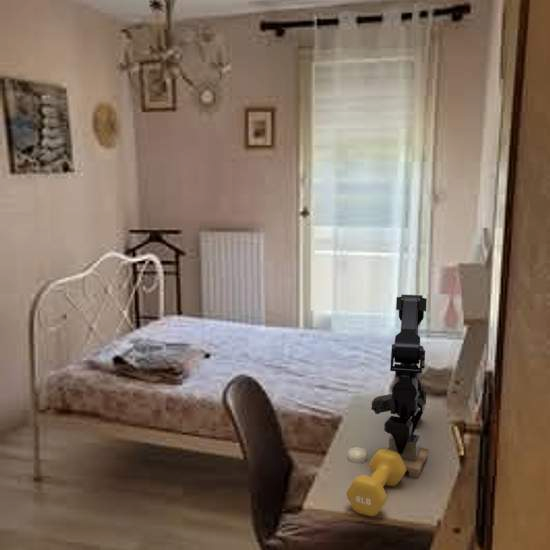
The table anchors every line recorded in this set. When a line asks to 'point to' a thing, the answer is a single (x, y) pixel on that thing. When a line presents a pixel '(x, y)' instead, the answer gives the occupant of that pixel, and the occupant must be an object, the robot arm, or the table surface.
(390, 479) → the dumbbell
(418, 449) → the housing
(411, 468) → the tan flat board
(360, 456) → the cream rounded piece
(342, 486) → the table surface
